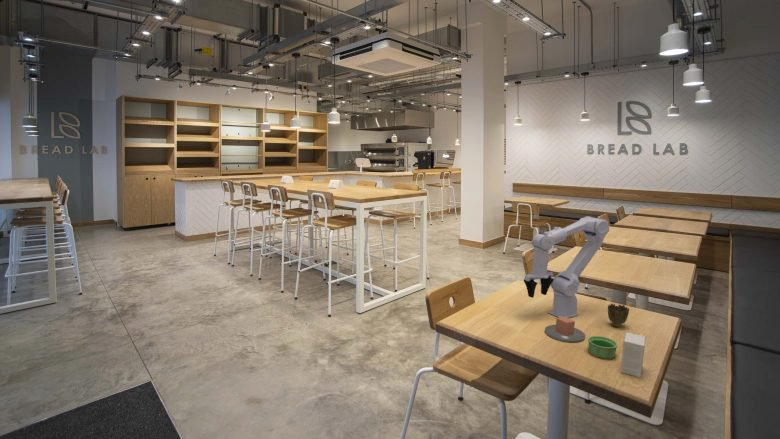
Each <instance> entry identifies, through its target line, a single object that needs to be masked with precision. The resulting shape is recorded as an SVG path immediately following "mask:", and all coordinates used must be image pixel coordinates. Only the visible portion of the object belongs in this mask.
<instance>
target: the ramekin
mask: <svg viewBox="0 0 780 439" xmlns="http://www.w3.org/2000/svg"><path fill="white" fill-rule="evenodd" d="M587 340H588V341H587V342H588V352H589V353H590V354H591V355H592V356H594V357H596V358H600V359H606V360H609V359H610V360H611V359H613V358H614V357H615V356H616V352H617V348H618V342H617V341H615V340H614V339H612V338H610V337H606V336H602V335H592V336H589V337H588V338H587Z"/></svg>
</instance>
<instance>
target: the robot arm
mask: <svg viewBox="0 0 780 439" xmlns="http://www.w3.org/2000/svg"><path fill="white" fill-rule="evenodd" d="M579 232H583V235H584V237H585V238H586V242H585V243H584V244H583V246H582V247H581V248H580V250H579V251H578V252H577V254H576V255H575V257H574V258H573V260H572V261H571V263H570V264H569V265H568V266H567V268H566V269H565V270H563V271H560V272H558V274H556V276H554V272H553V271H548V265H549V253H550V250H551V249H552V248H553V246H554V245H557V244H560V243H561V242H564V241H566V240H567V237H569V236H571V235H574V234H577V233H579ZM609 232H610V225H609V222H608V220H606V219H603V218H602V219H601V218H596V217H592V216H588V215H586V216H584V217H581V218H580V219H579V220H577V221H575V222H574V223H571V224H569V225H567V226H566V227H563V228H562V227H560V226H559V227H558V226H555V227H553V229H552V230H548V231H544V233H543V234H541V233H537V234H536V235H534V236H533V238H532V240H531V241H530V242H531V245H532V247H533V248H532V249H533V257H532V268H531V273H529V274H525V275H524V278H523V282H524V284H525V287H526V291H527V295H528V297H530V298H531V299H532V298H534V296H535V291H536V288H537V286H538V282H536V281H535V280H540V294H541V295H543V296H546V295H548V292H549V288H550V287H551V289H552V292H553V301H552V310H549V311H547V313H548V314H550V315H552V316H555V317H556V318H559V317H566V318H569V319H570V318H572V317H576V316H579V314H578V313H577V310H578V309H577V308H578V299H577V295H576V294H577V291H578V287H579V286H580V285H581V284H580V280H579V277H580V276H581V274H583V272H584V270H585V269H586V268H587V266H588V265H589V263H590V262H591V261H592V259H593V257H594V256H595V255H596V254H597V252H598V250H599V249H600V248H601V247H602V245H603V242H604V239H605V237H606V236H607V234H608V233H609Z"/></svg>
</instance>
